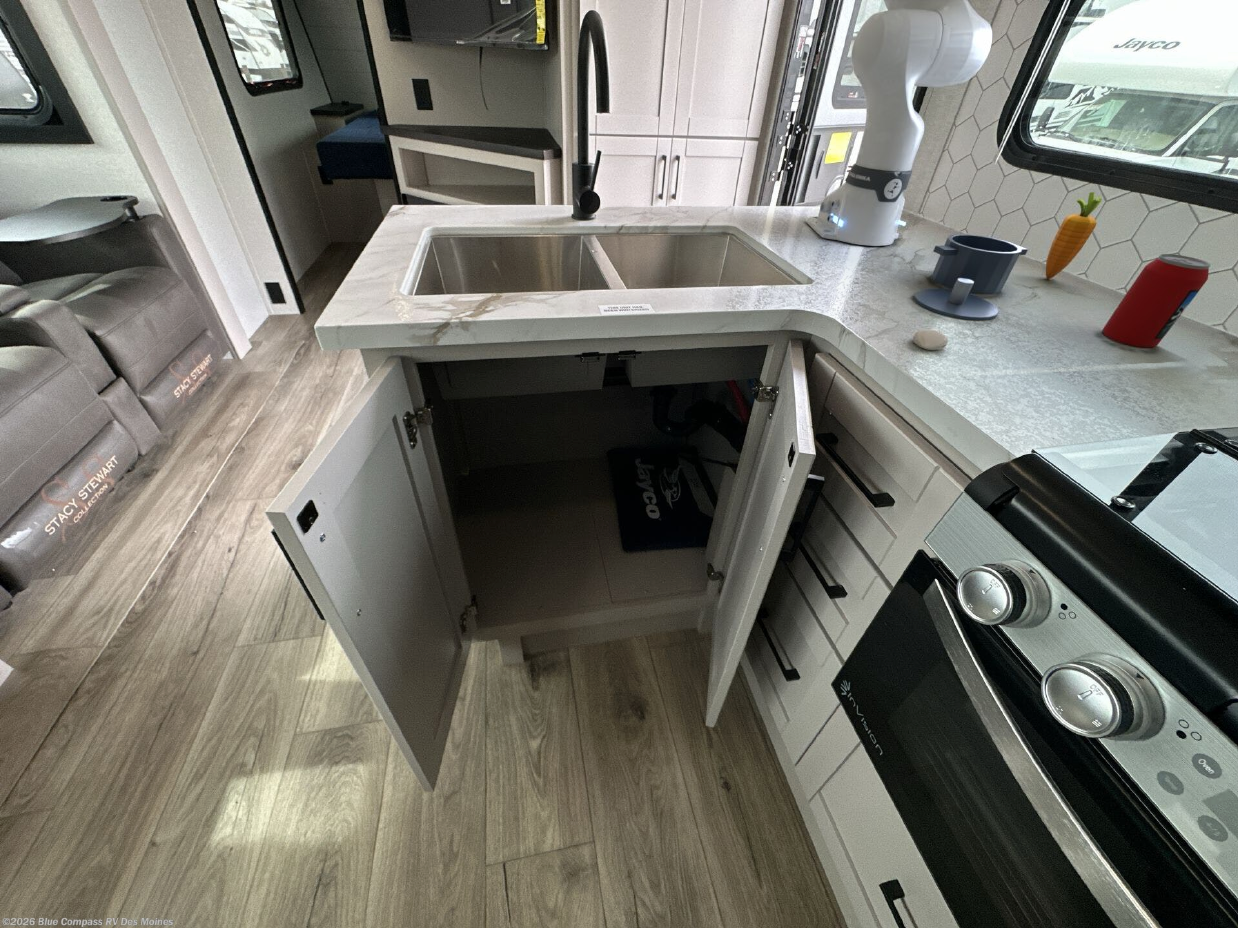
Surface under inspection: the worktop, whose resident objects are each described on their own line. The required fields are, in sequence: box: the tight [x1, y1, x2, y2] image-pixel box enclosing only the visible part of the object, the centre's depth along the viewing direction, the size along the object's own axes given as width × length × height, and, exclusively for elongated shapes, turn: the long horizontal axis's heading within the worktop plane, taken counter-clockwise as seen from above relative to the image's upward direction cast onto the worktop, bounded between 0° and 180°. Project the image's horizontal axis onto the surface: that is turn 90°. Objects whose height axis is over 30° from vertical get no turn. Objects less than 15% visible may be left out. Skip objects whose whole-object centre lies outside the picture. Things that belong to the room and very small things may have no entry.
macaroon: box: [912, 328, 949, 351], centre depth 71 cm, size 4×5×2 cm
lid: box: [913, 278, 999, 321], centre depth 83 cm, size 12×12×5 cm
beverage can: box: [1102, 253, 1211, 349], centre depth 73 cm, size 7×7×12 cm
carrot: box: [1045, 191, 1103, 280], centre depth 95 cm, size 5×5×15 cm
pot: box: [930, 233, 1029, 296], centre depth 91 cm, size 11×17×8 cm
